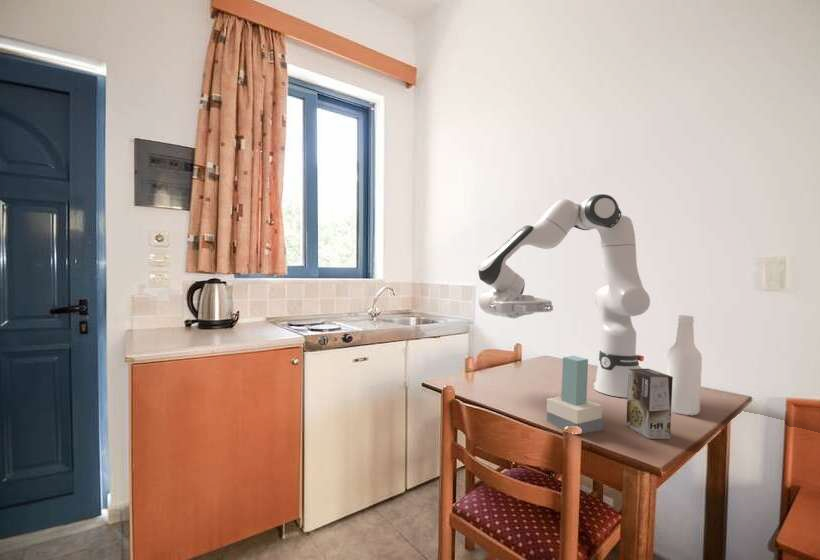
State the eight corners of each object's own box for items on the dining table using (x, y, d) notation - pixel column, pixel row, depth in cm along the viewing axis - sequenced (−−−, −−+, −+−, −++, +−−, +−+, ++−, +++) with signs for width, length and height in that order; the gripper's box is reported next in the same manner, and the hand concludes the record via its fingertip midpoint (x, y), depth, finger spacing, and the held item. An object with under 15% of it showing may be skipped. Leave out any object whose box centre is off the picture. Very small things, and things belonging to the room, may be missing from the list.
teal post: (572, 397, 108) (573, 355, 108) (586, 402, 104) (588, 359, 104) (561, 400, 106) (563, 357, 106) (575, 405, 102) (577, 360, 102)
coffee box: (671, 439, 98) (674, 376, 98) (647, 439, 97) (650, 376, 97) (646, 425, 107) (649, 368, 107) (624, 425, 106) (627, 367, 106)
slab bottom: (573, 418, 111) (573, 406, 111) (602, 431, 102) (603, 419, 102) (546, 422, 108) (547, 410, 107) (574, 437, 98) (575, 423, 98)
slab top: (570, 406, 112) (571, 394, 112) (601, 418, 103) (602, 405, 103) (546, 411, 107) (546, 398, 107) (577, 424, 98) (577, 410, 98)
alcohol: (694, 418, 114) (699, 318, 113) (660, 409, 120) (665, 315, 120) (702, 412, 119) (707, 316, 119) (670, 404, 126) (674, 313, 126)
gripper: (485, 296, 127) (512, 299, 115) (534, 295, 135) (564, 297, 123) (485, 315, 128) (512, 320, 115) (534, 313, 135) (564, 317, 123)
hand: (539, 308), depth 119 cm, fingers open, 8 cm apart
